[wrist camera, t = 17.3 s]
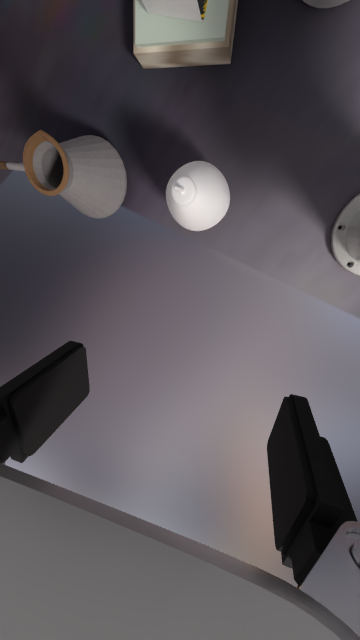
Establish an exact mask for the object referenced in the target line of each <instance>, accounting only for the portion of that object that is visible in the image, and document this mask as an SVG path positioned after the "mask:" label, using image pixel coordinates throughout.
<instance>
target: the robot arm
mask: <svg viewBox="0 0 360 640" xmlns="http://www.w3.org/2000/svg"><path fill="white" fill-rule="evenodd" d="M339 226H341V229H338V227H339ZM331 248H332V252H333V255H334V257H335V259H336V261H337V262H338V263H339V264H340V265H341V266H342V267H343V268H344V269H346V270H347V271H349V272H351V273H353V274H356V275H359V276H360V193H359V194H358V195H356V196H355V197H354V198H353V199H352V200H351V201H350V202H348V204H347V205H346V206H345V207H344V208H343V210H342V211H341V212H340V214H339V216H338V217H337V219H336V221H335V224H334V226H333V229H332V234H331ZM348 262H350V264H349V265H347V263H348ZM88 394H89V378H88V369H87V357H86V349H85V347H84V346H83V344H81V343H77V342H74V341H69V342H67V343H66V344H64V345H63V346H61V347H60V348H58V349H57V350H55V351H54V352H52V353H51V354H49V355H48V356H46V357H45V358H43V359H42V360H40V361H39V362H37V363H36V364H34V365H33V366H31V367H30V368H28V369H27V370H25V371H24V372H22V373H21V374H19V375H18V376H16V377H15V378H13V379H12V380H10V381H9V382H7V383H6V384H4V385H3V386H1V387H0V640H360V522H357V519H356V516H355V513H354V511H353V508H352V505H351V503H350V500H349V497H348V495H347V492H346V489H345V486H344V483H343V481H342V478H341V476H340V473H339V470H338V467H337V464H336V462H335V459H334V456H333V453H332V451H331V448H330V445H329V443H328V441H327V440H326V439H325V438H323V437H320V436H319V433H318V430H317V427H316V424H315V421H314V418H313V415H312V412H311V409H310V406H309V403H308V400H307V399H306V398H305V397H301V396H297V395H292V394H291V395H290V396H289V397H284V399H283V402H282V404H281V407H280V410H279V413H278V415H277V418H276V421H275V424H274V426H273V429H272V432H271V434H270V437H269V440H268V444H267V453H268V466H269V476H270V477H269V478H270V489H271V501H272V512H273V523H274V524H273V525H274V536H275V546H276V549H277V550H278V551H281V555H282V564H283V565H285V566H287V567H290V568H292V569H293V574H294V580H295V581H296V582H297V584H298V586H297V587H294V586H292V585H291V584H289V583H288V582H286V581H284V580H282V579H280V578H278V577H276V576H274V575H272V574H270V573H267V572H265V571H264V570H261V569H259V568H257V567H255V566H253V565H251V564H248V563H246V562H243V561H241V560H239V559H236V558H234V557H232V556H230V555H227V554H225V553H222V552H220V551H218V550H215V549H213V548H211V547H209V546H206V545H204V544H201V543H199V542H196V541H194V540H191V539H189V538H186V537H184V536H182V535H179V534H177V533H174V532H172V531H169V530H167V529H164V528H162V527H159V526H157V525H154V524H152V523H149V522H147V521H145V520H142V519H140V518H137V517H135V516H132V515H130V514H127V513H125V512H122V511H120V510H117V509H115V508H112V507H110V506H107V505H105V504H102V503H100V502H97V501H95V500H92V499H90V498H87V497H85V496H82V495H80V494H77V493H75V492H72V491H70V490H67V489H65V488H62V487H59V486H57V485H55V484H52V483H49V482H47V481H44V480H42V479H39V478H37V477H34V476H32V475H29V474H26V473H24V472H21V471H18V470H16V469H14V468H11V467H9V466H6V465H5V461H6V460H7V459H8V458H9V457H11V459H13V460H16V461H18V462H20V463H22V462H24V461H25V459H26V458H27V457H28V456H31V455H33V454H34V453H35V452H36V451H37V450H38V449H39V448H40V447H41V446H42V445H43V443H44V442H45V441H46V440H47V439H48V438H49V437H50V436H51V435H52V433H54V432H55V430H56V429H57V428H58V427H59V426H60V425H61V424H62V423H63V422H64V421H65V420H66V418H67V417H68V416H69V415H70V414H71V413H72V412H73V411H74V410H75V409H76V408H77V407H78V406H79V405H80V403H81V402H82V401H83V400H84V399H85V398H86V397H87V395H88Z"/></svg>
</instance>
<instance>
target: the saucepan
mask: <svg viewBox="0 0 360 640" xmlns="http://www.w3.org/2000/svg"><path fill="white" fill-rule="evenodd" d="M302 1H303V2H305V3H307V4H308V5H310V6H313V7H316V8H331V7H335V6H339V5H341V4H343V3H345V2H347V1H349V0H302Z"/></svg>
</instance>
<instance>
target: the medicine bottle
mask: <svg viewBox="0 0 360 640" xmlns="http://www.w3.org/2000/svg"><path fill="white" fill-rule="evenodd" d="M142 2H143V4H144V6H145V8H146V11H147V12H148V13H152V14H157V15H163V16H169V17H174V18H180V19H186V20H192V21H197V22H202V21H203V20H204V17H205V13H206V8H207V3H208V0H142Z"/></svg>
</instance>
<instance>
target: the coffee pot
mask: <svg viewBox="0 0 360 640" xmlns="http://www.w3.org/2000/svg"><path fill="white" fill-rule="evenodd" d="M0 169H8V170H9V169H12V170H20V171H25V172H26V175H27V176H28V179H29V181H30V182H31V184H32V185H33V186H34V187H35V188H36V189H37V190H38V191H40V192H41V193H43V194H45V195H49V196H54V195H57V194H60V195H61V196H62V197H63V198H64V199H66V200H67V201H68V202H69V203H70V204H72V205H73V206H74V207H75V208H77V209H78V210H79V211H80V212H82V213H84V214H85V215H87V216H89V217H93V218H105V217H107V216H109V215H112V214H113V213H114V212H115V211H117V210H118V208H119V207H120V205H121V204H122V202H123V201H124V198H125V195H126V190H127V176H126V171H125V168H124V164H123V161H122V159H121V157H120V156H119V154H118V152H117V150H116V149H115V148H114V147H113V146H112V145H111V144H110V143H109V142H108V141H106V140H104V139H103V138H101V137H98V136H93V135H86V136H81V137H78V138H74V139H71V140H68V141H65V142H62V143H58V142H57V141H56V140H55V139H54V138H53V137H51V136H50V135H49V134H47V133H46V132H44V131H42V130H39V131H38V132H36V133H35V134H33V135H32V136H31V137H30V138H29V140H28V141H27V142H26V145H25V147H24V152H23V164H18V163H8V162H5V161H0Z"/></svg>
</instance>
